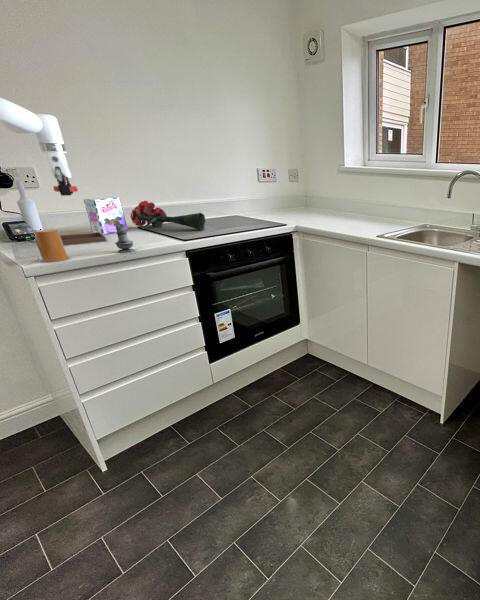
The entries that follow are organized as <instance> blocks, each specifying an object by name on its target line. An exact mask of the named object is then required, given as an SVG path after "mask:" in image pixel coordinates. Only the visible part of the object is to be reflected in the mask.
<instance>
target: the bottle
mask: <svg viewBox="0 0 480 600" xmlns="http://www.w3.org/2000/svg"><path fill="white" fill-rule="evenodd" d="M14 182H15V185H16V188H17V191H18V193H19V198H18V200H17V201H16V203H17V206H18V209H19V212H20V215H21V216H22V220H23V221H25V222H26V223H28V225H29V226H30V227H31V229H33V230H40V229H41V230H43V229H44V228H43V225H42V222H41V218H40V215H39V212H38V209H37V206H36V203H35V200H33V199H31V198H30V197H29V196H28V195H27V192H26V188H25V186H24V182H23V180H22V179H15V180H14ZM25 222H24V223H25ZM29 240H30V241H31V242H35V243H36V240H35V239H34V240H31V239H30V238H29Z"/></svg>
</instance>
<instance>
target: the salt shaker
mask: <svg viewBox="0 0 480 600" xmlns="http://www.w3.org/2000/svg"><path fill="white" fill-rule="evenodd" d="M116 230H117V232H115V233H116V235H117V239H118V240H117V241H116V242H115V243H114V244H115V246H116V247H117V248H118V249H119V250H118V253H120V254H124V253H133V252H135V249H133V248H132V247H133V245H134V244H133V243H134V241H132V240H130V239H129V237H128V232H127V230H125V226H124V225H123V224H121V223H120V222H118V224H116Z"/></svg>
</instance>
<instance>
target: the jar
mask: <svg viewBox="0 0 480 600" xmlns="http://www.w3.org/2000/svg"><path fill="white" fill-rule="evenodd" d="M34 232H35V233H34V234H35V236H34V237H35V240H36V242H35V243H36V246H37V249H38V252H39V254H40V257H41V260H42V262H44V263H57V262H63V261H66V260H68V259H69V258H68V254H67V252H66V249H65V245H63V242H62V239H61V236H62V235H61V234H60V233H59V232H58V229H56V228H43V230H36V231H34Z"/></svg>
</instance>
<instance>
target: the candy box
mask: <svg viewBox="0 0 480 600" xmlns="http://www.w3.org/2000/svg"><path fill="white" fill-rule="evenodd" d="M83 203H84V207H85V210H86V214H87V218H88V221H89V223H90V224H89V225H90V228H91V229H90V230H91V233H97V232H100V233H101V234H102V235H103V236H105V235H108V234H114V233H117V230H116V224H118V222H120V223H121V224H123V225H124V226H125V230H126V231H128V226H127V225H128V224H127V222H126V218H125V213H124V210H123V206H122V202H121V198H120V197H116V196H115V197H114V196H107V197H106V196H105V197H93V198H84V199H83Z"/></svg>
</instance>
